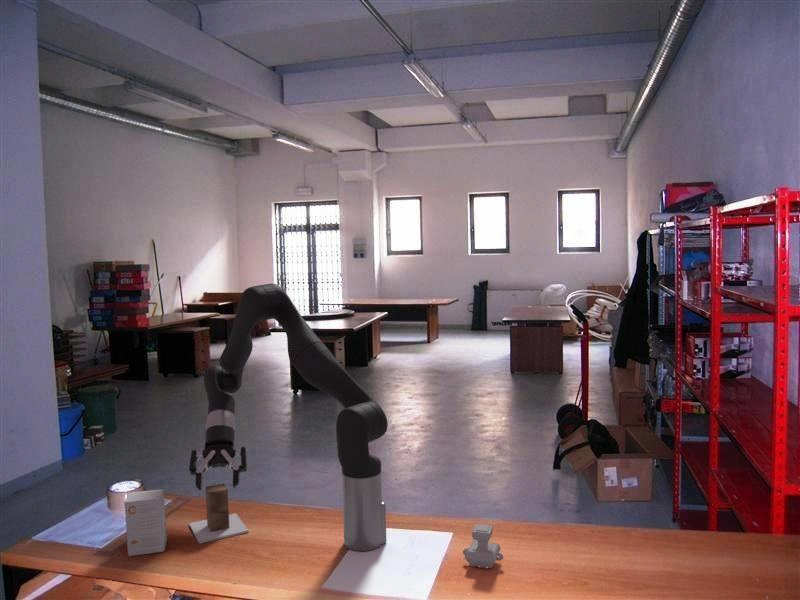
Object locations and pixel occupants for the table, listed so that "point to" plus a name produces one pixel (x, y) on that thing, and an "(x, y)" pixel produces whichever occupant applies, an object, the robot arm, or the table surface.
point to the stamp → (482, 547)
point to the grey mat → (206, 535)
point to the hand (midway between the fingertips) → (217, 487)
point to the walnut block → (217, 507)
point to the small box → (145, 522)
